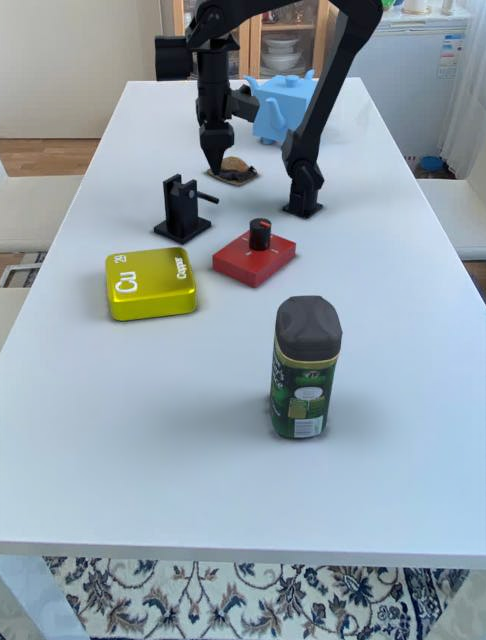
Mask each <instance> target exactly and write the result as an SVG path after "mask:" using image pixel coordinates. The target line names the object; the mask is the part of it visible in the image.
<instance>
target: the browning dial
mask: <svg viewBox="0 0 486 640" xmlns="http://www.w3.org/2000/svg"><path fill="white" fill-rule="evenodd" d="M272 225H273V224H272V221H271V220H270V219H268V218H264V217H256V218H253V219H251V220H250V221H249V229H248V230H249V247H250V248H251V249H253V250H255V251H264V250H267V249H268V248H269V247H270V240H271V233H272Z"/></svg>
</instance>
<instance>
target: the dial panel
mask: <svg viewBox="0 0 486 640" xmlns="http://www.w3.org/2000/svg"><path fill="white" fill-rule="evenodd" d="M296 250H297V242H295V241H292V240H289V239H287V238H284V237H282V236H279V235H277V234H274V233H272V232H271V240H270V247H269V248H268V249H267V250H264V251H255V250H253V249H251V248H250V247H249V229H248V230H247V231H245V232H243V234H241V235H239V236H238V237H236V238H235V239H233V240H232V241H231V242H230V243H228V244H227V245H225V246H224V247H222V248H220V249H219V250H218V251H216V252H214V253H213V254H212V256H211V261H212V263H211V265H212V270H213V271H215V272H218V273H220V274H222V275H224V276H226V277H229V278H230V279H231V278H232V279H233V280H236V281H238V282H241V283H243V284H245V285H246V286H249V287H252V288H254V289H256V288H257V287H259V286H260V285H261V284H263V282H265V281H266V280H267V279H268V278H271V276H273V275H274V274H275V273H276V272H278V271H279V270H280V269H282V268H283V267H284V266H285V265H287V264H288V263H289V262H290V261H291V260H293V259H294V258H295V257H296Z"/></svg>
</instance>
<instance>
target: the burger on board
mask: <svg viewBox="0 0 486 640" xmlns="http://www.w3.org/2000/svg"><path fill="white" fill-rule="evenodd" d="M206 173H207V174H208V175H210V176H212V177H213V178H216V179H219V180H220V181H223V182H225V183H227V184H230V185H233V186H236V187H241V186H244V185H245V184H247V183H249V182H251V181H252V182H253V180H254V179H256V178H259V173H258V171H257V169H256V168H255V167H254V166H253V165H249V164H248V163H247V162H246V161H244V160H243V159H242V158H240V157H237V156H232V155H231V156H226V157H223V160H222V165H221V169H220V174H219V175H218V176H214V175H213V173H212V170H211V168H210V167H209V168H208V169H206Z"/></svg>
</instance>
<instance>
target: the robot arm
mask: <svg viewBox="0 0 486 640" xmlns="http://www.w3.org/2000/svg"><path fill="white" fill-rule="evenodd" d="M302 1H303V0H196V2H195V3H194V9H193V10H194V14H193V16H192V19H191V20H190V22H189V24H188V25H187V27H186V29H185V30H184V35H170V36H169V35H168V36H167V35H161V34H160V35H154V41H153V42H154V68H155V81H156V82H158V83H160V82H174V81H175V82H179V81H188V78H191V74H194V54H196V75H197V76H196V77H197V79H196V88H197V98H196V99H195V100H194V101H195V103H194V104H195V115H196V121H197V123H198V126H199V128H198V136H199V146H200V149H201V150H202V153H203V155H204V157H205V159H206V161H207V164H208V165H209V169H210V168H211V170H212V173H213V175H214V176H218V175H219V174H220V169H221V165H222V160H223V159H224V155H225V152H227V150H228V149H230V148H232V147H233V146H235V141H236V140H235V137H236V136H235V130H234V126H233V125H232V124H231V123H230V122H229V121H230V120H233V116H234V117H236V118H238V119H242V120H245V121H246V122H247V123H250V124H253V123H254V121H255V119H256V116H257V113H258V111H259V108H260V103H259V100H258V99H257V98H256V96H254V95H253V96H252V90H251V87H250V85H248V84H245V83H242V85H241V86H240V87H239V88H235V89H232V87H231V82H230V52H235V51H237V52H238V51H240V50H241V45H240V42H239V40H238V39H237V38H236V37H235V36H234V34H233V33H232V31H233V30H235V29H237V28H238V27H240V26H241V25H243V23H245V22H247V21H248V20H249V19H251V18H253V17H257V16H259V15H262V14H265V13H269V12H272V11H274V10H277V9H280V8H284V7H287V6H290V5H293V4H296V3H299V2H302ZM327 1H328V2H329V3H330V4H332V5H333V6H334V7H335V8H336V9H338V12H337V16H336V20H335V25H334V26H335V28H334V34H333V35H334V36H333V42H332V46H331V48H330V50H329V53H328V55H327V57H326V60H325V63H324V65H323V68H322V71H321V73H320V75H319V78H318V80H317V82H318V83H317V85H316V88H315V90H314V93H313V95H312V98H311V100H310V103H309V105H308V107H307V110H306V112H305V115H304V117H303V120H302V122H301V124H300V125H299V126H298V127H297V129H296V130H295V131H293V130H291V129H288V130H287V134H286V138H285V141H284V142H282V144H281V145H280V146H279V148H280V152H281V154H280V155H281V160H282V163H283V166H284V169H285V172H286V174H287V176H288V177H289V178H290V180H291V183H290V188H289V189H290V190H289V196H288V197H289V198H288V203H287V204H285V205H283V206H282V209H281V210H282V211H284V212H285V213H290V214H291V215H295V216H297V217H301V218H303V219H309V218H311V217H312V216H313V215H315V214H316V213H318V212H319V211H320V210H321V209H323V208H324V204H322V203H319V202H318V198H319V191H320V190H322V188H323V185H324V183H325V181H326V180H325V177H324V175H323V172H322V171H321V168H320V167H319V164H318V162H317V161H318V158H319V153H320V146H321V140H322V139H321V137H322V134H323V131H324V129H325V127H326V124H327V122H328V120H329V118H330V116H331V113H332V111H333V109H334V107H335V104H336V101H337V99H338V97H339V95H340V93H341V90H342V88H343V85H344V83H345V81H346V79H347V77H348V74H349V71H350V69H351V66H352V65H353V62H354V60H355V58H356V56H357V54H358V53H360V51H361V50H362V49H363V48H364V46H365V45H366V44H367V43H368V42H369V41H370V39H371V38H372V36H373V35H374V33H375V31H376V30H377V28H378V26H379V25H380V23H381V21H382V19H383V15H384V5H383V4H384V3H383V0H327ZM333 106H334V107H333ZM228 120H229V121H228ZM213 175H212V176H213ZM214 176H213V177H214Z"/></svg>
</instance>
